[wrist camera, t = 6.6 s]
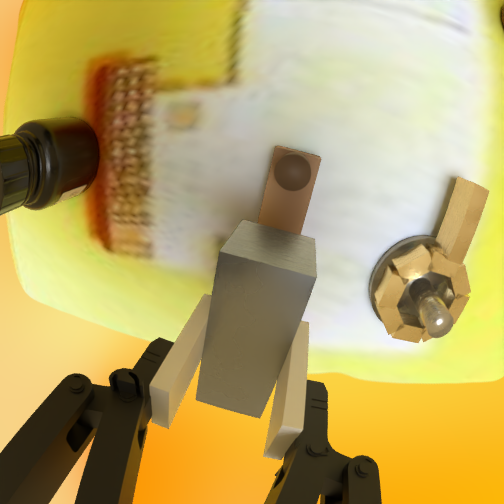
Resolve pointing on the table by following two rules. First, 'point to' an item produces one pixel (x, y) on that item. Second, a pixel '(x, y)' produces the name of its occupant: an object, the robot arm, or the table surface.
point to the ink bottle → (46, 163)
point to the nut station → (417, 290)
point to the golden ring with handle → (434, 264)
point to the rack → (288, 189)
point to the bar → (254, 315)
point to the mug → (503, 15)
